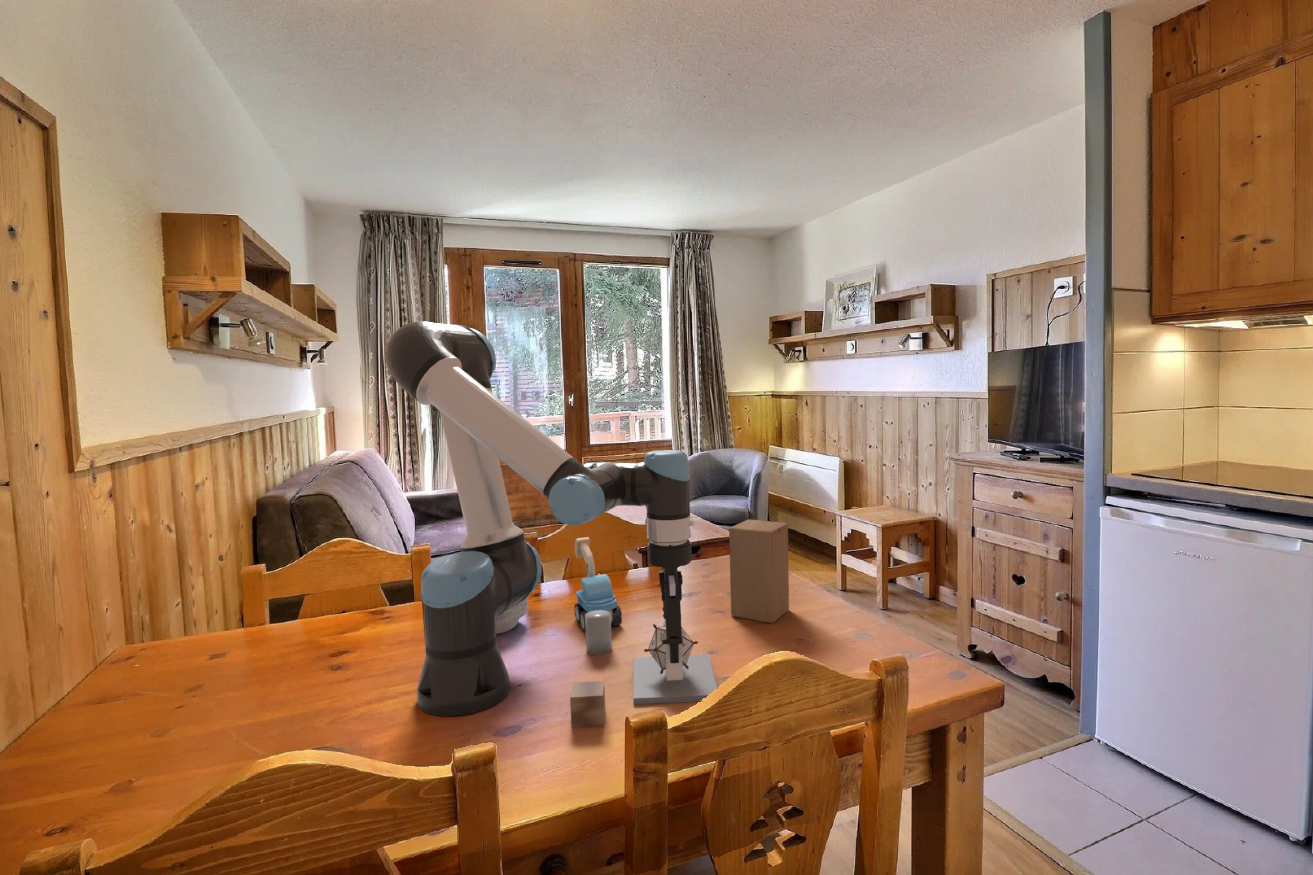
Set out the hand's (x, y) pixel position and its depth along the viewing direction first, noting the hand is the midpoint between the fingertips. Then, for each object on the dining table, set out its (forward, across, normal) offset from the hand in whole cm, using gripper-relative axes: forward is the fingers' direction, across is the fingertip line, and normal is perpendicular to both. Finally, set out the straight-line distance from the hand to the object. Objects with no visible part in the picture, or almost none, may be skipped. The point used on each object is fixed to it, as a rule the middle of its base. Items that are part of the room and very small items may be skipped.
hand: (673, 666), depth 115 cm
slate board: (+2, 0, 0) cm, 2 cm away
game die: (+1, 0, 0) cm, 1 cm away
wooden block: (+3, +31, -21) cm, 38 cm away
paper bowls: (+3, +29, +38) cm, 48 cm away
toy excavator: (+3, +32, +16) cm, 36 cm away
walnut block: (+3, -12, +14) cm, 19 cm away
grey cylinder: (+3, +15, +14) cm, 21 cm away
